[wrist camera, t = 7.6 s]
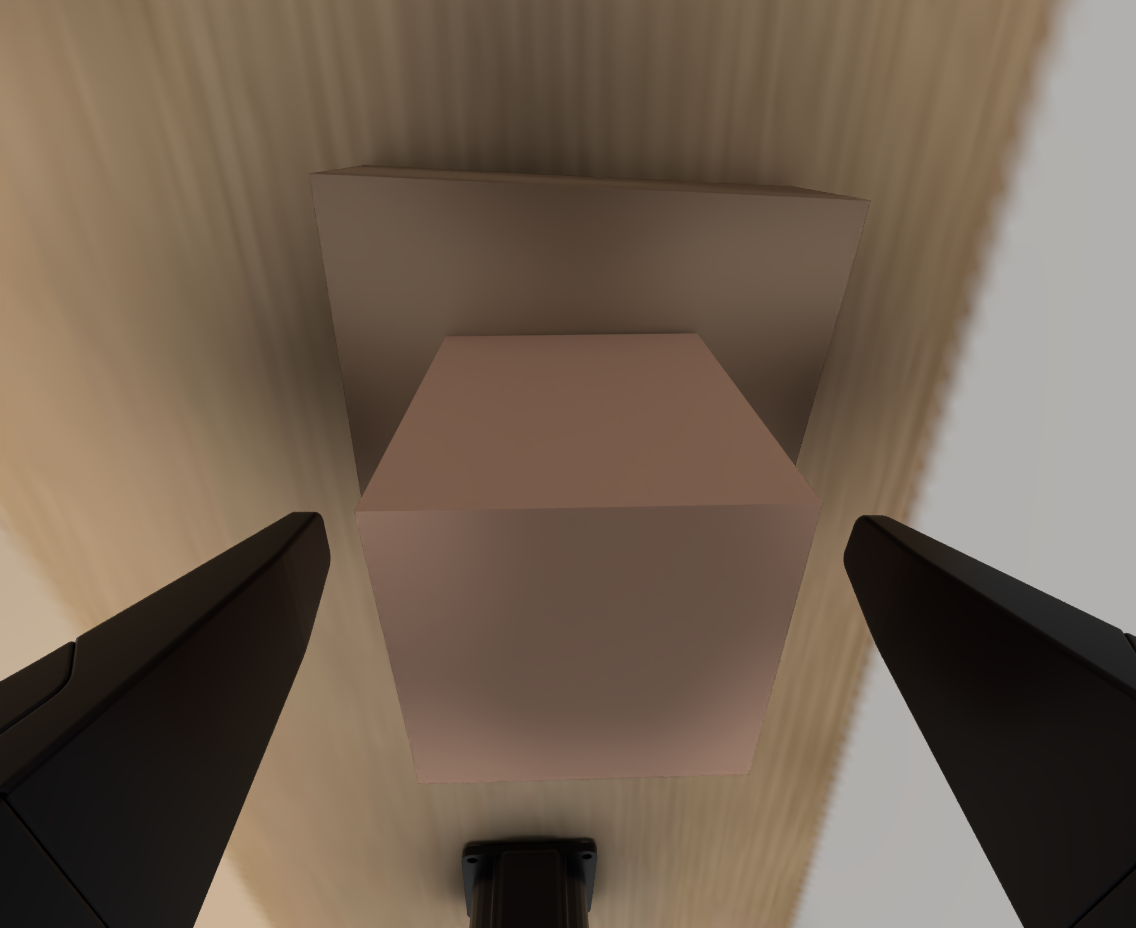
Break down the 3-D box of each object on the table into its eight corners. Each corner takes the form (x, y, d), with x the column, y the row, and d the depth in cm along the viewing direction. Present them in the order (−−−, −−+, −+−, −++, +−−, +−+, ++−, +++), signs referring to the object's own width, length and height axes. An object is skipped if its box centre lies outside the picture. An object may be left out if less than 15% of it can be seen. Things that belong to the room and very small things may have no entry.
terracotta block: (674, 533, 14) (748, 774, 9) (469, 537, 14) (419, 784, 8) (696, 333, 11) (822, 503, 6) (445, 336, 11) (353, 512, 6)
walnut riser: (714, 519, 19) (754, 605, 15) (409, 516, 18) (379, 606, 15) (786, 185, 14) (870, 201, 10) (368, 165, 13) (308, 173, 10)
